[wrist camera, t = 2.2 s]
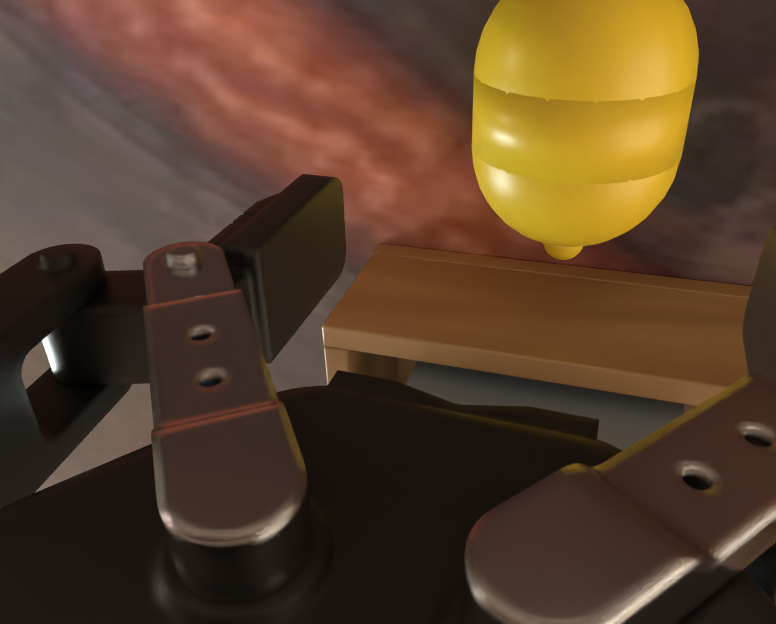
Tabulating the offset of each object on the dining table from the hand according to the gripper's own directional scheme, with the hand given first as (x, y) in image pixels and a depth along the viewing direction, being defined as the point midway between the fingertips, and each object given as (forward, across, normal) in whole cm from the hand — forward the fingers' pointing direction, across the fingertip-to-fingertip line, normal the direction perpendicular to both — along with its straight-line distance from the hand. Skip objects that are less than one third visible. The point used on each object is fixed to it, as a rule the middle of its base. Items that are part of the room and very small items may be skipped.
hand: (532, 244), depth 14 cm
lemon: (+10, 0, -1) cm, 10 cm away
